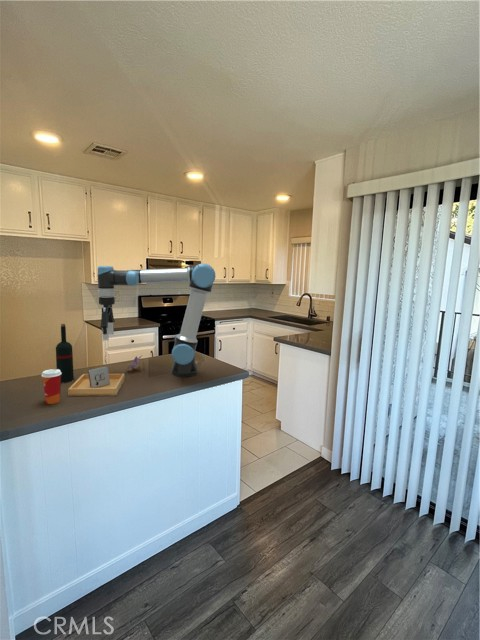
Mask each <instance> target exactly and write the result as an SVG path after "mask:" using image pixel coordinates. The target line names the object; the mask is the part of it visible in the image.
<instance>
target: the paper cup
mask: <svg viewBox="0 0 480 640" xmlns="http://www.w3.org/2000/svg"><path fill="white" fill-rule="evenodd" d="M61 374H62V373H61V371H60V370H59V369H57V368H56V369H53V368H51V369H46V370H44V371H42V373H41V375H40V376H41V377H42V385H43V390H44V391H43V394H44V400H45V404H47V405H54V404H58V403H60V402H61V392H62V391H61V387H62V386H61V385H62V383H61Z"/></svg>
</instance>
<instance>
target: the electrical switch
mask: <svg viewBox="0 0 480 640" xmlns="http://www.w3.org/2000/svg"><path fill="white" fill-rule="evenodd" d="M87 374H88V375H89V381H90V387H91V388H98V387H102V386H105V385H109V384H110V379H109V374H110V372H109V367H108V366H102V367H97V368H92V369H89V370H88V371H87ZM96 383H97V384H96Z"/></svg>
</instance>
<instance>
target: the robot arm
mask: <svg viewBox="0 0 480 640" xmlns="http://www.w3.org/2000/svg"><path fill="white" fill-rule="evenodd" d="M96 277H97V286H98V287H97V290H96V292H97V293H98V304H99V305H101V306H103V307H102V308H101V320H100V327H99V328H100V329H101V331H102V332H101V335H102V336H101V337H102V341H103V342H105V341H109V338H110V337H109V335H110V336H111V335H112V336H113V335H114V334H115V333H114V323H115V322H116V321H115V318H114V312H113V305H115V304H116V300H115V299H116V298H115V286H133V287H134V286H137V285H139V284H163V283H165V284H167V283H168V284H169V283H188V284H189V285H188V287H189V289H190V293H189V298H188V301H187V305H186V309H185V313H184V317H183V320H182V324H181V328H180V331H179V333H178V334H175V335H174V345H173V348H172V349H171V357H172V360H173V363H172V366H171V372H170V373H171V374H172V375H174V376H176V377H179V378H180V377H181V378H185V377H188V378H189V377H193V376H196V375H197V374H198V367H197V362H196V359H195V358H196V348H197V346H198V339H197V334H198V331H199V326H200V322H201V320H202V317H203V316H202V315H203V311H204V307H205V303H206V300H207V298H208V297H207V295H209V294H210V293H211V292H212V289H213V285H214V283H215V281H216V280H215V279H216V271H215V269H214V268H213V267H212V266H211V265H210V264H208V263H199V264H197V265H188V266H187V267H181V268H179V267H178V268H177V267H175V268H153V269H151V268H150V269H129V270H128V269H127V270H122V269H121V270H115V269H114V266H111V265H109V266H108V265H99V266H98V267H97V275H96Z"/></svg>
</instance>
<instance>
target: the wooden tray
mask: <svg viewBox="0 0 480 640" xmlns="http://www.w3.org/2000/svg"><path fill="white" fill-rule="evenodd" d="M125 375H126V374H125V373H109V379H110V384H109V385H105V386H102V387H98V388H91V387H90V381H89V375H88V373H83V374H81V376H79V377H78V378H77V380H75V382H74V383H73V384H72V385H71V386H69V388H68V389H67V393H68V397H107V396H108V397H112V396H113V397H115V396H116V397H117V395H118V393H119V392H120V391H119V390H120V389H121V388H122V386H123V384H124V382H125V379H126V377H125ZM96 384H97V383H96Z"/></svg>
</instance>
